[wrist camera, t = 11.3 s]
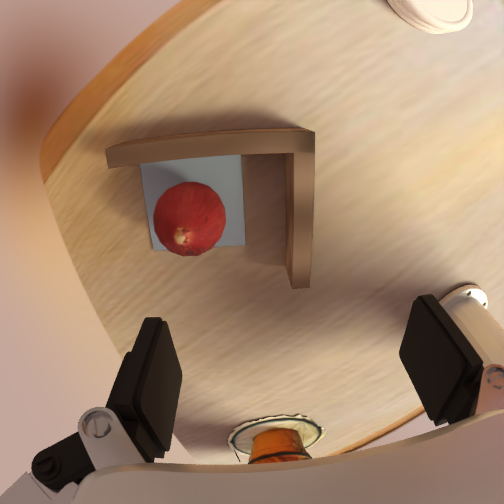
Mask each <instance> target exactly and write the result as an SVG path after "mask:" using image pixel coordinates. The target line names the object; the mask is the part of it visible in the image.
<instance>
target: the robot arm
mask: <svg viewBox="0 0 504 504" xmlns="http://www.w3.org/2000/svg"><path fill="white" fill-rule="evenodd" d="M487 303H488V300H487V296H486V294H485V292H484V291H483V290H482V289H481V288H480V287H478V286H476V285H465V286H462V287H459V288H457V289H455V290H453V291H452V292H450V293H449V294H447V295H446V296H445V297H444V298H443V299H441V300H440V301H439V302H438V301H437V300H436V298H435V297H434V296H433V295H432V294H429V295H422V296H418V297H417V299H416V300H415V301H414V302H413V305H412V309H411V312H410V316H409V320H408V323H407V327H406V330H405V334H404V337H403V340H402V344H401V347H400V350H399V356H400V359H401V361H402V363H403V365H404V367H405V369H406V371H407V373H408V375H409V377H410V379H411V381H412V383H413V385H414V387H415V389H416V391H417V394H418V396H419V398H420V400H421V402H422V404H423V406H424V409H425V411H426V413H427V415H428V417H429V419H430V420H433V421H434V424H435V426H439V425H441V424H444V423H447V421H448V423H449V425H448V426H446V427H442V428H439V429H436V430H433V431H430V432H427V433H424V434H421V435H418V436H415V437H411V438H408V439H405V440H401V441H398V442H394V443H390V444H386V445H382V446H378V447H374V448H369V449H365V450H360V451H355V452H350V453H345V454H340V455H334V456H328V457H321V458H314V459H306V460H298V461H289V462H278V463H264V464H242V465H196V464H172V463H168V464H167V463H154V458H164V454H165V451H169V449H170V445H171V439H172V433H173V427H174V421H175V415H176V409H177V404H178V398H179V393H180V387H181V382H182V370H181V367H180V364H179V361H178V357H177V354H176V351H175V348H174V344H173V341H172V338H171V334H170V331H169V327H168V324H167V322H166V321H162V319H161V318H160V317H146V318H145V319H144V321H143V324H142V326H141V329H140V331H139V334H138V336H137V339H136V341H135V344H134V346H133V349H132V351H131V352H127V353H126V355H125V357H124V359H123V362H122V364H121V367H120V369H119V372H118V374H117V377H116V380H115V382H114V385H113V388H112V390H111V393H110V396H109V398H108V401H107V404H106V407H105V408H104V407H95V408H92V409H90V410H88V411H86V412H85V413H84V414H83V415H82V416H81V418H80V420H79V422H78V432H76V433H74V434H73V435H71V436H69V437H67V438H65V439H63V440H61V441H59V442H58V443H56V444H54V445H52V446H50V447H48V448H46V449H44V450H42V451H41V452H39V453H38V454H37V455H36V456H35V457H34V459H33V462H32V467H31V469H32V471H31V472H30V473H27V472H25V473H24V474H23V475H22V476H21V477H20V478H19V479H18V480H17V481H16V482H15V483H14V484H13V485H12V486H11V487H10V488H8V489H7V490H6V491H5V492H4V493H3V494H2V495H1V496H0V504H504V329H503V328H502V327H501V326H500V324H499V323H498V322H497V321H496V320H495V319H494V317H493V316H492V315H491V314H490V313H489V312H488V311H487Z"/></svg>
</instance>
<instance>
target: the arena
mask: <svg viewBox="0 0 504 504" xmlns="http://www.w3.org/2000/svg"><path fill="white" fill-rule="evenodd" d="M105 150H106V157H107V164H108V169H110V168H117V167H123V166H130V165H137V164H145V163H153V162H161V161H170V160H179V159H189V158H201V157H213V156H227V155H244V154H267V153H286V270H287V273H288V276H289V280H290V283H291V287H292V289H297V288H309V287H310V273H311V256H312V236H313V212H314V174H315V132H313V131H310V130H308V129H305V128H266V129H242V130H225V131H211V132H200V133H189V134H180V135H171V136H163V137H156V138H148V139H142V140H135V141H129V142H123V143H120V144H117V145H115V146H112V147H110V148H107V149H105Z"/></svg>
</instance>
